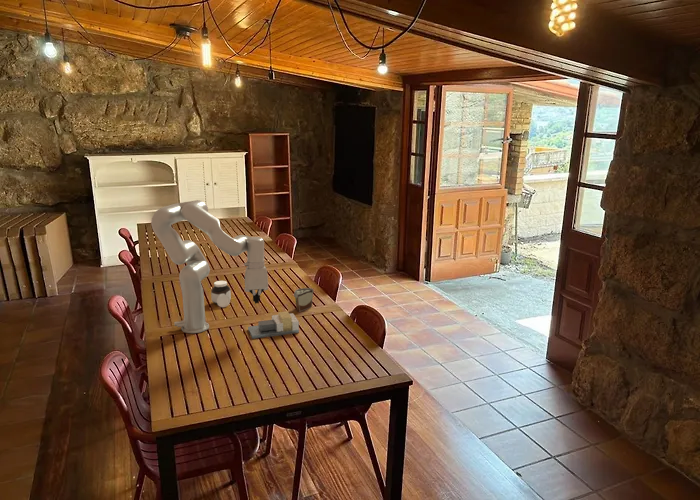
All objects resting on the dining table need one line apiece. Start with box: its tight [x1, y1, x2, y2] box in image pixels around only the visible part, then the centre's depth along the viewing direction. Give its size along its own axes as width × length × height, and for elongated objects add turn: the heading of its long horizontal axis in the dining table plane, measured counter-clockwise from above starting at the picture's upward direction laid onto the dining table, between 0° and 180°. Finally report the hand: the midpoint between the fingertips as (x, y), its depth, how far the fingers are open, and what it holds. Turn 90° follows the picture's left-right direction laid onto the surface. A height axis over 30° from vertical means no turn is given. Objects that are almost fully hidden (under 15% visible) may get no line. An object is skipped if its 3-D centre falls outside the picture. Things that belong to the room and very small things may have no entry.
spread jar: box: [210, 280, 232, 308], centre depth 267 cm, size 12×11×12 cm
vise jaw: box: [257, 314, 283, 332], centre depth 233 cm, size 10×11×4 cm
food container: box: [293, 287, 314, 313], centre depth 263 cm, size 12×6×10 cm, turn 141°
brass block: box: [277, 310, 292, 330], centre depth 236 cm, size 4×8×6 cm, turn 20°
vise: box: [247, 312, 300, 340], centre depth 234 cm, size 22×11×6 cm, turn 110°
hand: (256, 302), depth 229 cm, fingers closed
